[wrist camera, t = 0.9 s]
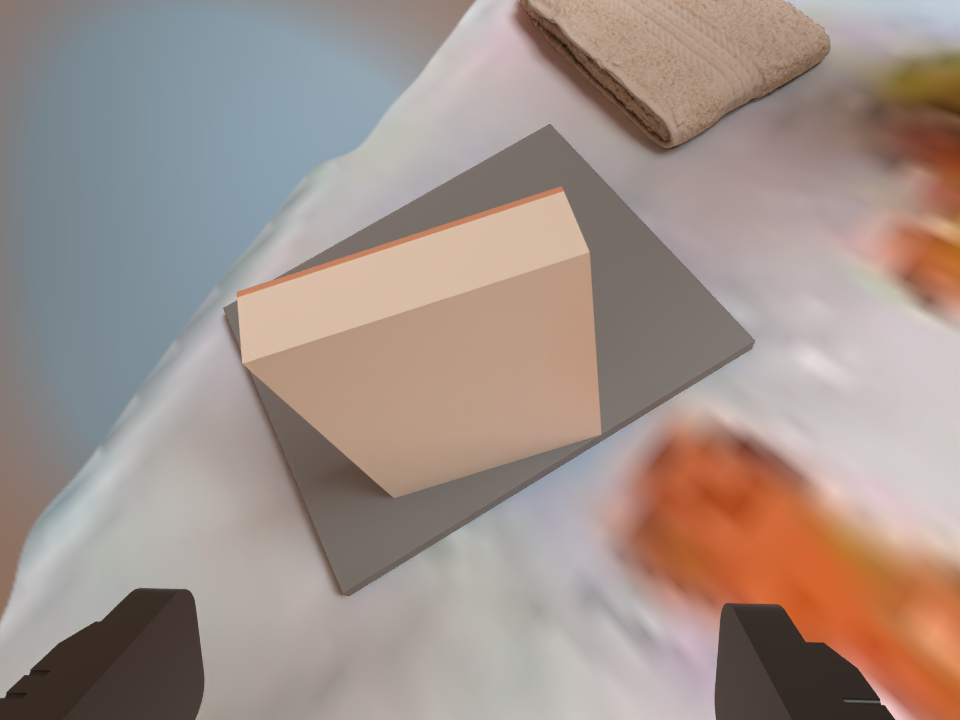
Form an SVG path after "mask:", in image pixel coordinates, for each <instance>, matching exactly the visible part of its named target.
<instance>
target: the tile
mask: <svg viewBox="0 0 960 720" xmlns="http://www.w3.org/2000/svg"><path fill="white" fill-rule="evenodd" d="M237 303H238V316H239V329H240V342H241V355H242V364H243V365H244V366H245V367H246V368H248V369H249V370H250V371H251V372H252V373H253V374H254V375H255V376H257V377H258V378H259V379H260V380H261V381H262V382H263V383H264V384H266V385H267V386H268V387H269V388H270V389H271V390H272V391H273V392H275V393H276V394H277V395H278V396H279V397H280V398H281V399H283V400H284V401H285V402H286V403H287V404H288V405H289V406H290V407H292V408H293V409H294V410H295V411H296V412H297V413H298V414H299V415H301V416H302V417H303V418H304V419H305V420H306V421H307V422H308V423H310V424H311V425H312V426H313V427H314V428H315V429H316V430H317V431H319V432H320V433H321V434H322V435H323V436H324V437H325V438H326V439H328V440H329V441H330V442H331V443H332V444H333V445H334V446H335V447H337V448H338V449H339V450H340V451H341V452H342V453H343V454H344V455H346V456H347V457H348V458H349V459H350V460H351V461H352V462H354V463H355V464H356V465H357V466H358V467H359V468H360V469H361V470H363V471H364V472H365V473H366V474H367V475H368V476H369V477H370V478H372V479H373V480H374V481H375V482H376V483H377V484H378V485H379V486H381V487H382V488H383V489H384V490H385V491H386V492H387V493H388V494H390V495H391V496H392V497H393V498H397V497H400V496H403V495H407V494H410V493H413V492H416V491H420V490H423V489H426V488H429V487H433V486H436V485H439V484H442V483H446V482H449V481H452V480H455V479H459V478H462V477H465V476H468V475H472V474H475V473H478V472H481V471H485V470H488V469H491V468H495V467H498V466H501V465H504V464H508V463H511V462H514V461H517V460H521V459H524V458H527V457H530V456H534V455H537V454H540V453H543V452H547V451H550V450H553V449H556V448H560V447H563V446H566V445H569V444H573V443H576V442H579V441H582V440H586V439H589V438H592V437H596V436H599V435H602V434H601V419H600V403H599V388H598V372H597V357H596V341H595V326H594V311H593V295H592V280H591V264H590V252H589V249H588V247H587V245H586V242H585V240H584V238H583V235H582V233H581V230H580V228H579V226H578V223H577V221H576V219H575V216H574V214H573V212H572V209H571V207H570V205H569V202H568V200H567V197H566V195H565V193H564V190H563V188H562V186H561V187H557V188H554V189H551V190H548V191H545V192H542V193H539V194H536V195H533V196H530V197H527V198H524V199H521V200H518V201H515V202H511V203H508V204H505V205H502V206H499V207H496V208H493V209H490V210H487V211H484V212H481V213H478V214H475V215H472V216H469V217H466V218H462V219H459V220H456V221H453V222H450V223H447V224H444V225H441V226H438V227H435V228H432V229H429V230H426V231H423V232H420V233H416V234H413V235H410V236H407V237H404V238H401V239H398V240H395V241H392V242H389V243H386V244H383V245H380V246H377V247H374V248H371V249H367V250H364V251H361V252H358V253H355V254H352V255H349V256H346V257H343V258H340V259H337V260H334V261H331V262H328V263H325V264H321V265H318V266H315V267H312V268H309V269H306V270H303V271H300V272H297V273H294V274H291V275H288V276H285V277H282V278H279V279H276V280H272V281H269V282H266V283H263V284H260V285H257V286H254V287H251V288H248V289H245V290H242V291H239V292H237Z"/></svg>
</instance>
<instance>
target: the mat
mask: <svg viewBox="0 0 960 720" xmlns="http://www.w3.org/2000/svg"><path fill="white" fill-rule="evenodd" d="M561 186H562V188H563V190H564V193H565V195H566V197H567V200H568V202H569V205H570V207H571V209H572V212H573V214H574V216H575V219H576V221H577V223H578V226H579V228H580V230H581V233H582V235H583V238H584V240H585V242H586V245H587V247H588V249H589V252H590V264H591V280H592V295H593V311H594V326H595V341H596V357H597V372H598V388H599V403H600V419H601V434H602V435H599V436H596V437H592V438H589V439H586V440H582V441H579V442H576V443H573V444H569V445H566V446H563V447H560V448H556V449H553V450H550V451H547V452H543V453H540V454H537V455H534V456H530V457H527V458H524V459H521V460H517V461H514V462H511V463H508V464H504V465H501V466H498V467H495V468H491V469H488V470H485V471H481V472H478V473H475V474H472V475H468V476H465V477H462V478H459V479H455V480H452V481H449V482H446V483H442V484H439V485H436V486H433V487H429V488H426V489H423V490H420V491H416V492H413V493H410V494H407V495H403V496H400V497H397V498H393V497H392V496H391V495H390V494H388V493H387V492H386V491H385V490H384V489H383V488H382V487H381V486H379V485H378V484H377V483H376V482H375V481H374V480H373V479H372V478H370V477H369V476H368V475H367V474H366V473H365V472H364V471H363V470H361V469H360V468H359V467H358V466H357V465H356V464H355V463H354V462H352V461H351V460H350V459H349V458H348V457H347V456H346V455H344V454H343V453H342V452H341V451H340V450H339V449H338V448H337V447H335V446H334V445H333V444H332V443H331V442H330V441H329V440H328V439H326V438H325V437H324V436H323V435H322V434H321V433H320V432H319V431H317V430H316V429H315V428H314V427H313V426H312V425H311V424H310V423H308V422H307V421H306V420H305V419H304V418H303V417H302V416H301V415H299V414H298V413H297V412H296V411H295V410H294V409H293V408H292V407H290V406H289V405H288V404H287V403H286V402H285V401H284V400H283V399H281V398H280V397H279V396H278V395H277V394H276V393H275V392H273V391H272V390H271V389H270V388H269V387H268V386H267V385H266V384H264V383H263V382H262V381H261V380H260V379H259V378H258V377H257V376H255V375H254V374H253V373H252V372H251V371H250V370H249V371H250V374H251V376H252V379H253V381H254V383H255V386H256V388H257V391H258V393H259V395H260V398H261V400H262V402H263V405H264V407H265V410H266V412H267V414H268V417H269V419H270V422H271V424H272V426H273V429H274V431H275V434H276V436H277V438H278V441H279V443H280V445H281V448H282V450H283V453H284V455H285V457H286V460H287V462H288V465H289V467H290V469H291V472H292V474H293V477H294V479H295V481H296V484H297V486H298V489H299V491H300V493H301V496H302V498H303V500H304V503H305V505H306V508H307V510H308V512H309V515H310V517H311V520H312V522H313V524H314V527H315V529H316V532H317V534H318V536H319V539H320V541H321V543H322V546H323V548H324V551H325V553H326V555H327V558H328V560H329V563H330V565H331V567H332V570H333V572H334V575H335V577H336V579H337V582H338V584H339V587H340V589H341V591H342V594H345V595H348V596H350V595H351V594H353V593H355V592H356V591H358V590H360V589H361V588H363V587H364V586H366V585H368V584H369V583H371V582H373V581H374V580H376V579H377V578H379V577H381V576H382V575H384V574H386V573H387V572H389V571H390V570H392V569H394V568H395V567H397V566H399V565H400V564H402V563H403V562H405V561H407V560H408V559H410V558H412V557H413V556H415V555H417V554H418V553H420V552H421V551H423V550H425V549H426V548H428V547H430V546H431V545H433V544H434V543H436V542H438V541H439V540H441V539H443V538H444V537H446V536H447V535H449V534H451V533H452V532H454V531H456V530H457V529H459V528H460V527H462V526H464V525H465V524H467V523H469V522H470V521H472V520H474V519H475V518H477V517H478V516H480V515H482V514H483V513H485V512H487V511H488V510H490V509H491V508H493V507H495V506H496V505H498V504H500V503H501V502H503V501H504V500H506V499H508V498H509V497H511V496H513V495H514V494H516V493H517V492H519V491H521V490H522V489H524V488H526V487H527V486H529V485H530V484H532V483H534V482H535V481H537V480H539V479H540V478H542V477H544V476H545V475H547V474H548V473H550V472H552V471H553V470H555V469H557V468H558V467H560V466H561V465H563V464H565V463H566V462H568V461H570V460H571V459H573V458H574V457H576V456H578V455H579V454H581V453H583V452H584V451H586V450H587V449H589V448H591V447H592V446H594V445H596V444H597V443H599V442H600V441H602V440H604V439H605V438H607V437H609V436H610V435H612V434H614V433H615V432H617V431H618V430H620V429H622V428H623V427H625V426H627V425H628V424H630V423H631V422H633V421H635V420H636V419H638V418H640V417H641V416H643V415H644V414H646V413H648V412H649V411H651V410H653V409H654V408H656V407H657V406H659V405H661V404H662V403H664V402H666V401H667V400H669V399H671V398H672V397H674V396H675V395H677V394H679V393H680V392H682V391H684V390H685V389H687V388H688V387H690V386H692V385H693V384H695V383H697V382H698V381H700V380H701V379H703V378H705V377H706V376H708V375H710V374H711V373H713V372H714V371H716V370H718V369H719V368H721V367H723V366H724V365H726V364H727V363H729V362H731V361H732V360H734V359H736V358H737V357H739V356H741V355H742V354H744V353H745V352H747V351H749V350H750V349H752V347H753V344H754V342H755V340H754V339H753V338H752V337H751V336H750V335H749V334H748V333H747V331H746V330H745V329H744V328H743V327H742V326H741V325H740V324H739V323H738V322H737V321H736V320H735V319H734V318H733V317H732V316H731V315H730V314H729V312H728V311H727V310H726V309H725V308H724V307H723V306H722V305H721V304H720V303H719V302H718V301H717V300H716V299H715V298H714V297H713V296H712V294H711V293H710V292H709V291H708V290H707V289H706V288H705V287H704V286H703V285H702V284H701V283H700V282H699V281H698V280H697V279H696V278H695V277H694V275H693V274H692V273H691V272H690V271H689V270H688V269H687V268H686V267H685V266H684V265H683V264H682V263H681V262H680V261H679V260H678V259H677V258H676V256H675V255H674V254H673V253H672V252H671V251H670V250H669V249H668V248H667V247H666V246H665V245H664V244H663V243H662V242H661V241H660V240H659V238H658V237H657V236H656V235H655V234H654V233H653V232H652V231H651V230H650V229H649V228H648V227H647V226H646V225H645V224H644V223H643V222H642V221H641V219H640V218H639V217H638V216H637V215H636V214H635V213H634V212H633V211H632V210H631V209H630V208H629V207H628V206H627V205H626V204H625V203H624V201H623V200H622V199H621V198H620V197H619V196H618V195H617V194H616V193H615V192H614V191H613V190H612V189H611V188H610V187H609V186H608V185H607V184H606V182H605V181H604V180H603V179H602V178H601V177H600V176H599V175H598V174H597V173H596V172H595V171H594V170H593V169H592V168H591V167H590V166H589V164H588V163H587V162H586V161H585V160H584V159H583V158H582V157H581V156H580V155H579V154H578V153H577V152H576V151H575V150H574V149H573V148H572V147H571V145H570V144H569V143H568V142H567V141H566V140H565V139H564V138H563V137H562V136H561V135H560V134H559V133H558V132H557V131H556V130H555V129H554V127H553V126H552V125H551V124H549V125H547V126H545V127H544V128H542V129H540V130H538V131H536V132H535V133H533V134H531V135H529V136H528V137H526V138H524V139H522V140H521V141H519V142H517V143H515V144H513V145H512V146H510V147H508V148H506V149H505V150H503V151H501V152H499V153H497V154H496V155H494V156H492V157H490V158H489V159H487V160H485V161H483V162H481V163H480V164H478V165H476V166H474V167H473V168H471V169H469V170H467V171H466V172H464V173H462V174H460V175H458V176H457V177H455V178H453V179H451V180H450V181H448V182H446V183H444V184H442V185H441V186H439V187H437V188H435V189H434V190H432V191H430V192H428V193H427V194H425V195H423V196H421V197H419V198H418V199H416V200H414V201H412V202H411V203H409V204H407V205H405V206H403V207H402V208H400V209H398V210H396V211H395V212H393V213H391V214H389V215H387V216H386V217H384V218H382V219H380V220H379V221H377V222H375V223H373V224H372V225H370V226H368V227H366V228H364V229H363V230H361V231H359V232H357V233H356V234H354V235H352V236H350V237H348V238H347V239H345V240H343V241H341V242H340V243H338V244H336V245H334V246H333V247H331V248H329V249H327V250H325V251H324V252H322V253H320V254H318V255H317V256H315V257H313V258H311V259H309V260H308V261H306V262H304V263H302V264H301V265H299V266H297V267H295V268H293V269H292V270H290V271H288V272H286V273H285V274H283V275H281V276H279V277H278V278H276V279H279V278H282V277H285V276H288V275H291V274H294V273H297V272H300V271H303V270H306V269H309V268H312V267H315V266H318V265H321V264H325V263H328V262H331V261H334V260H337V259H340V258H343V257H346V256H349V255H352V254H355V253H358V252H361V251H364V250H367V249H371V248H374V247H377V246H380V245H383V244H386V243H389V242H392V241H395V240H398V239H401V238H404V237H407V236H410V235H413V234H416V233H420V232H423V231H426V230H429V229H432V228H435V227H438V226H441V225H444V224H447V223H450V222H453V221H456V220H459V219H462V218H466V217H469V216H472V215H475V214H478V213H481V212H484V211H487V210H490V209H493V208H496V207H499V206H502V205H505V204H508V203H511V202H515V201H518V200H521V199H524V198H527V197H530V196H533V195H536V194H539V193H542V192H545V191H548V190H551V189H554V188H557V187H561ZM276 279H274V280H276ZM223 309H224V312H225V314H226V316H227V319H228V321H229V324H230V326H231V328H232V331H233V333H234V336H235V338H236V340H237V343H238V345H239V348H240V350H241V342H240V329H239V316H238V303H237V301H235V302H233V303H231V304H230V305H228V306H226V307H224V308H223Z"/></svg>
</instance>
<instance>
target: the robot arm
mask: <svg viewBox="0 0 960 720" xmlns="http://www.w3.org/2000/svg"><path fill="white" fill-rule="evenodd" d="M203 692H204V669H203V661H202V653H201V645H200V637H199V629H198V621H197V613H196V605H195V600H194V597H193V595H192V593H191V592H190V591H189V590H186V589H151V588H139V589H135V590H133V591H132V592H131V593H130V594H129V595H128V596H126V597H125V598H124V599H123V600H122V601H121V602H120V603H119V604H118V605H117V606H116V607H115V608H114V609H113V610H112V611H111V612H110V613H109V614H108V615H107V616H106V617H105V618H104V619H103V620H102V621H101V622H94V623H93V624H91V625H89V626H87V627H86V628H84V629H82V630H81V631H79V632H77V633H76V634H74V635H72V636H71V637H69V638H67V639H66V640H64V641H62V642H60V643H59V644H58V645H57V646H56V647H54V648H53V649H52V650H51V651H50V652H49V653H48V654H47V655H46V656H45V657H44V658H43V659H42V660H41V661H40V662H38V663H37V664H36V665H35V666H34V667H33V668H32V669H31V671H30V674H29V675H25V676H23V677H22V678H21V679H20V680H19V681H18V682H17V683H16V684H15V685H14V686H13V687H12V688H11V689H10V690H9V691H7V692H6V693H7V694H6V697H5V698H0V720H195V719H196V716H197V714H198V711H199V709H200V705H201V702H202V697H203ZM715 713H716V720H895V719H894V718H893V716H892V715H891V713H890V712H889V711H888V709H887V708H886V707H885V705H881V703H880V698H879V697H878V696H877V694H876V693H875V692H874V690H873V689H872V687H871V686H870V685H869V683H868V682H867V681H866V679H865V678H864V677H863V675H862V674H861V672H860V671H859V670H858V668H856V667H855V666H854V665H852V664H851V663H850V662H848V661H847V660H846V659H844V658H843V657H842V656H840V655H839V654H838V653H837V652H835V651H834V650H833V649H831V648H830V647H829V646H827V645H826V644H825V643H814V642H805V640H804V639H803V637H802V636H801V634H800V633H799V631H798V630H797V628H796V627H795V625H794V624H793V622H792V620H791V619H790V617H789V616H788V614H787V613H786V611H785V610H784V609H783V607H781V606H780V605H778V604H735V603H726V604H725V605H724V606H723V608H722V612H721V619H720V631H719V644H718V657H717V670H716V683H715Z"/></svg>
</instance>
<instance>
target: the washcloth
mask: <svg viewBox="0 0 960 720" xmlns="http://www.w3.org/2000/svg"><path fill="white" fill-rule="evenodd" d="M520 2H521V5H522V6H523V7H524V10H525V11H527V12H528V15H531V17H532V22H533V24H534V25H535V26H537V27H538V30H539V31H540V32H542V34H543V36H544V37H545V38H546V40H547V41H548V42H549V43H550V44H551V45H553V47H554V48H556V50H557V51H559V52H560V53H561V54H562V55H563V56H564V57H565V58H566V59H567V60H568V61H569V62H570V63H571V64H572V65H573V66H574V67H575V68H576V69H577V70H578V71H579V72H580V73H581V74H582V75H583V76H584V77H585V78H587V79H588V81H590V82H591V83H592V84H593V85H594V86H595V87H596V88H597V89H598V90H599V91H600V92H601V93H603V94H604V95H605V96H606V97H607V98H608V99H609V100H610V101H611V102H612V103H613V104H615V105H616V106H617V107H618V108H619V109H620V110H621V111H622V112H623V113H624V114H625V115H626V116H627V117H628V118H629V119H630V120H631V121H632V122H633V123H634V124H635V125H636V126H637V127H638V128H639V129H640V130H641V131H642V132H643V133H644V134H646V135H647V137H648V138H650V139H651V140H652V141H653V142H654V143H656V144H658V145H659V146H660V147H663V148H671V147H673V146H677V145H679V144H682V143H684V142H685V141H687V140H690V139H691V138H693V137H695V136H697V135H699V134H700V133H701V132H702V131H704V130H706V129H708V128H709V127H711V126H713V125H714V124H715V123H716V122H717V121H718V120H719V119H720V117H723V116H724V115H725V114H727V113H728V112H729V111H732V110H734V109H736V108H737V107H739V106H741V105H744V104H745V103H747V102H748V101H749V100H751V99H753V98H762V97H764V96H765V95H766V94H767V93H769V92H772V91H773V90H775V89H776V88H777V87H780V86H782V85H784V84H785V83H786V82H788V81H790V80H792V79H794V78H795V77H796V76H799V75H801V74H802V73H803V72H805V71H807V70H809V69H810V68H811V67H813V66H814V65H816V64H818V63H819V62H820V61H821V60H823V59H824V58H825V56H826V55H828V54H829V51H830V39H829V36H828V35H826V34H825V32H824V28H823V27H822V26H820V25H819V24H815V23H814V22H813V21H812V20H810V19H809V18H808V16H805V15H804V14H803V13H802V12H801V11H798V10H796V9H795V7H793V5H792V4H790V3H786V2H784V1H783V0H520Z"/></svg>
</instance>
